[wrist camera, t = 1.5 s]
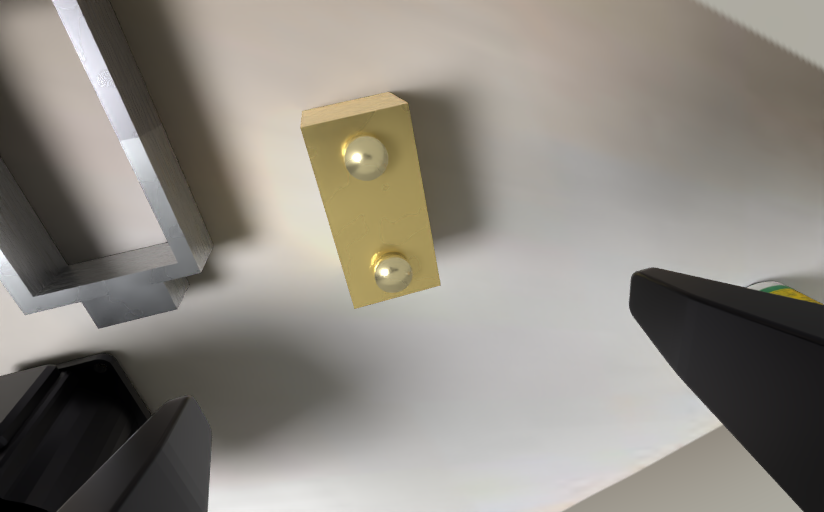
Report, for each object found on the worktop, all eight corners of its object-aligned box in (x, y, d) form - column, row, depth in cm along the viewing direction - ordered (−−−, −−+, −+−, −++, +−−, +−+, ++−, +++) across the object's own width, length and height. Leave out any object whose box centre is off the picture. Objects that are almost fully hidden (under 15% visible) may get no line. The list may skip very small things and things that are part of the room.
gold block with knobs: (418, 244, 21) (444, 292, 17) (346, 263, 20) (355, 317, 16) (388, 91, 17) (412, 105, 13) (302, 110, 17) (300, 130, 13)
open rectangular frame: (226, 275, 19) (215, 306, 17) (79, 311, 18) (46, 349, 16) (39, -165, 12) (-23, -211, 10) (-207, -134, 12) (-334, -177, 9)
